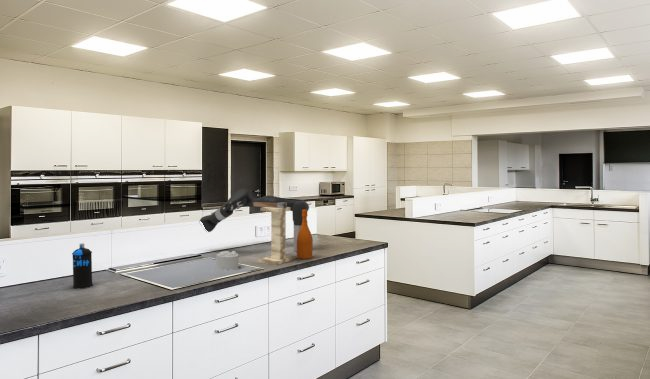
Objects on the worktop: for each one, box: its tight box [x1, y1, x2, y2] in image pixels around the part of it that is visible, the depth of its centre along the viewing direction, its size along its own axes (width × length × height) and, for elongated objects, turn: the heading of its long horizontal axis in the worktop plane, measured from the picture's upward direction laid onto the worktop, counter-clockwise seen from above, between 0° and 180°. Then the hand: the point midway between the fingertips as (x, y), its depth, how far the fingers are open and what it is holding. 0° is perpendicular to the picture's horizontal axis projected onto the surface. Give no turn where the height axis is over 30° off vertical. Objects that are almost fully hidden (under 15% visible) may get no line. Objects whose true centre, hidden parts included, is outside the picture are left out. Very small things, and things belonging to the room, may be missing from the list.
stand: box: [258, 207, 293, 266], centre depth 263 cm, size 16×13×32 cm
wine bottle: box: [296, 209, 314, 260], centre depth 273 cm, size 10×10×30 cm
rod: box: [253, 202, 287, 208], centre depth 264 cm, size 4×22×3 cm, turn 61°
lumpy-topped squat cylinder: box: [215, 250, 240, 270], centre depth 248 cm, size 10×13×9 cm
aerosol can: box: [71, 242, 94, 289], centre depth 207 cm, size 8×8×20 cm
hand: (241, 200), depth 275 cm, fingers open, 8 cm apart
